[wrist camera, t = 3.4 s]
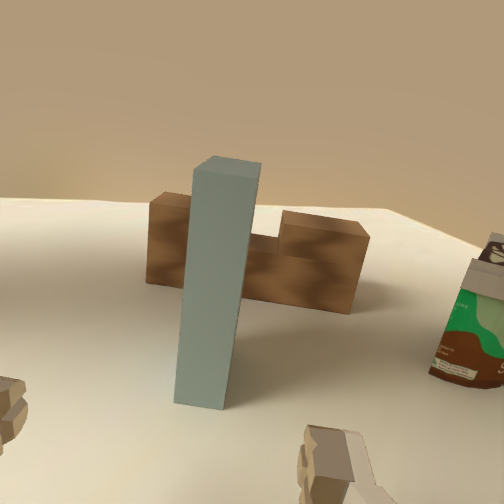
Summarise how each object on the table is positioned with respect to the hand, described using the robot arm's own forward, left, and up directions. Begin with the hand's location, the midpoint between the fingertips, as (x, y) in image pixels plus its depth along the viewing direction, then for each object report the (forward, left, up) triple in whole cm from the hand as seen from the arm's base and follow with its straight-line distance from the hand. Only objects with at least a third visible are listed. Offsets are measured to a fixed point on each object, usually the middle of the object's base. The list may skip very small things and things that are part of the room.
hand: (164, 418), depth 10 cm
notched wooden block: (+2, +26, -8) cm, 27 cm away
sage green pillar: (0, +12, -8) cm, 15 cm away
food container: (+22, +18, -9) cm, 30 cm away
